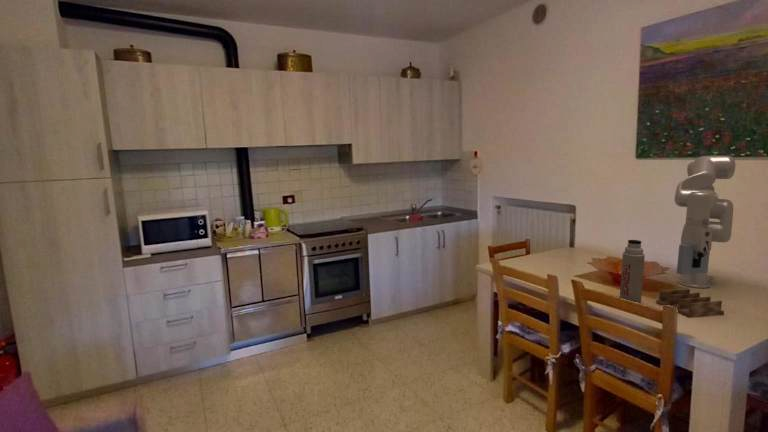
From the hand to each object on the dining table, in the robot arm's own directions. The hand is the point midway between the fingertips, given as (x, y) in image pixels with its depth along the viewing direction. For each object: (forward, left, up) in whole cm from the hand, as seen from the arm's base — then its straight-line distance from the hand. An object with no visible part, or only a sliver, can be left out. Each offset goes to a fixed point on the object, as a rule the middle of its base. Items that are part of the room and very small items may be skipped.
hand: (692, 266), depth 167 cm
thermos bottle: (+19, -10, -19) cm, 28 cm away
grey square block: (0, 0, -3) cm, 3 cm away
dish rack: (0, 0, -18) cm, 18 cm away
